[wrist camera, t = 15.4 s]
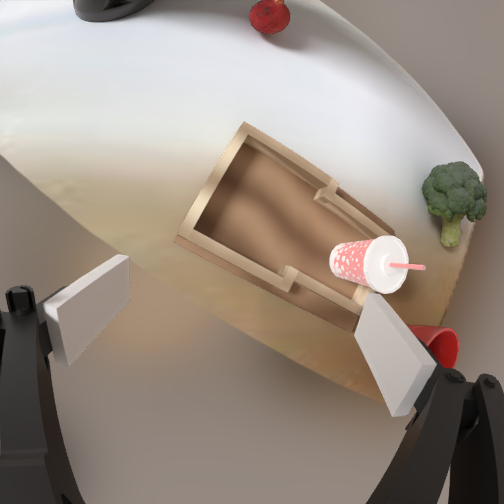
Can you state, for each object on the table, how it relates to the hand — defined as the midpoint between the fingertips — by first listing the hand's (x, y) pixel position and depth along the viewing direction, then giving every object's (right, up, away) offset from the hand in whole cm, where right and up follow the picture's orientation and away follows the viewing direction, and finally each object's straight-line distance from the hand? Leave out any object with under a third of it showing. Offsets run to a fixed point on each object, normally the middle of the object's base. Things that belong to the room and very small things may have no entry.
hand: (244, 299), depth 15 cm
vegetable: (+33, +11, +28) cm, 44 cm away
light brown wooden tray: (+6, +5, +21) cm, 22 cm away
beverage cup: (+12, +1, +21) cm, 25 cm away
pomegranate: (+2, +37, +19) cm, 41 cm away
